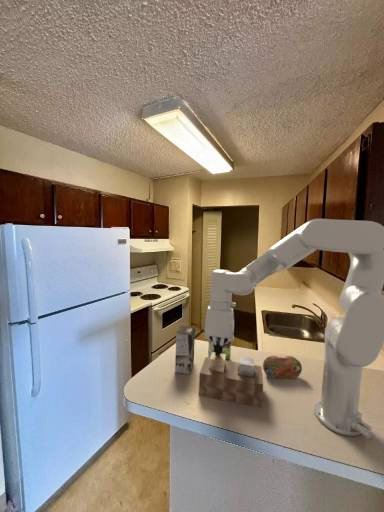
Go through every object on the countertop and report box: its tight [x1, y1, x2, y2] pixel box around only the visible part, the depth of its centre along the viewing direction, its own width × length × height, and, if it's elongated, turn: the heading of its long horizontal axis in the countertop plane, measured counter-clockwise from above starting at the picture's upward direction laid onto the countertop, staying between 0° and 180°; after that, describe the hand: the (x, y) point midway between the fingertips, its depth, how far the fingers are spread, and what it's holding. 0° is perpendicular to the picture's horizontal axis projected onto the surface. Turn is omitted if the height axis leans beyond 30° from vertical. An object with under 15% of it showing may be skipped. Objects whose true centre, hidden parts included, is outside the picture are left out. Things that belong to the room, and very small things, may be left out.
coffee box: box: [174, 325, 196, 375], centre depth 95 cm, size 9×6×16 cm
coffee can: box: [207, 337, 232, 361], centre depth 103 cm, size 10×10×14 cm
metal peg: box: [238, 356, 255, 378], centre depth 80 cm, size 5×5×8 cm
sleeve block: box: [198, 356, 264, 409], centre depth 81 cm, size 21×11×8 cm, turn 76°
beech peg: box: [210, 352, 226, 373], centre depth 82 cm, size 5×5×8 cm
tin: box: [262, 355, 303, 380], centre depth 91 cm, size 15×3×8 cm, turn 92°
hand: (217, 354), depth 82 cm, fingers closed
